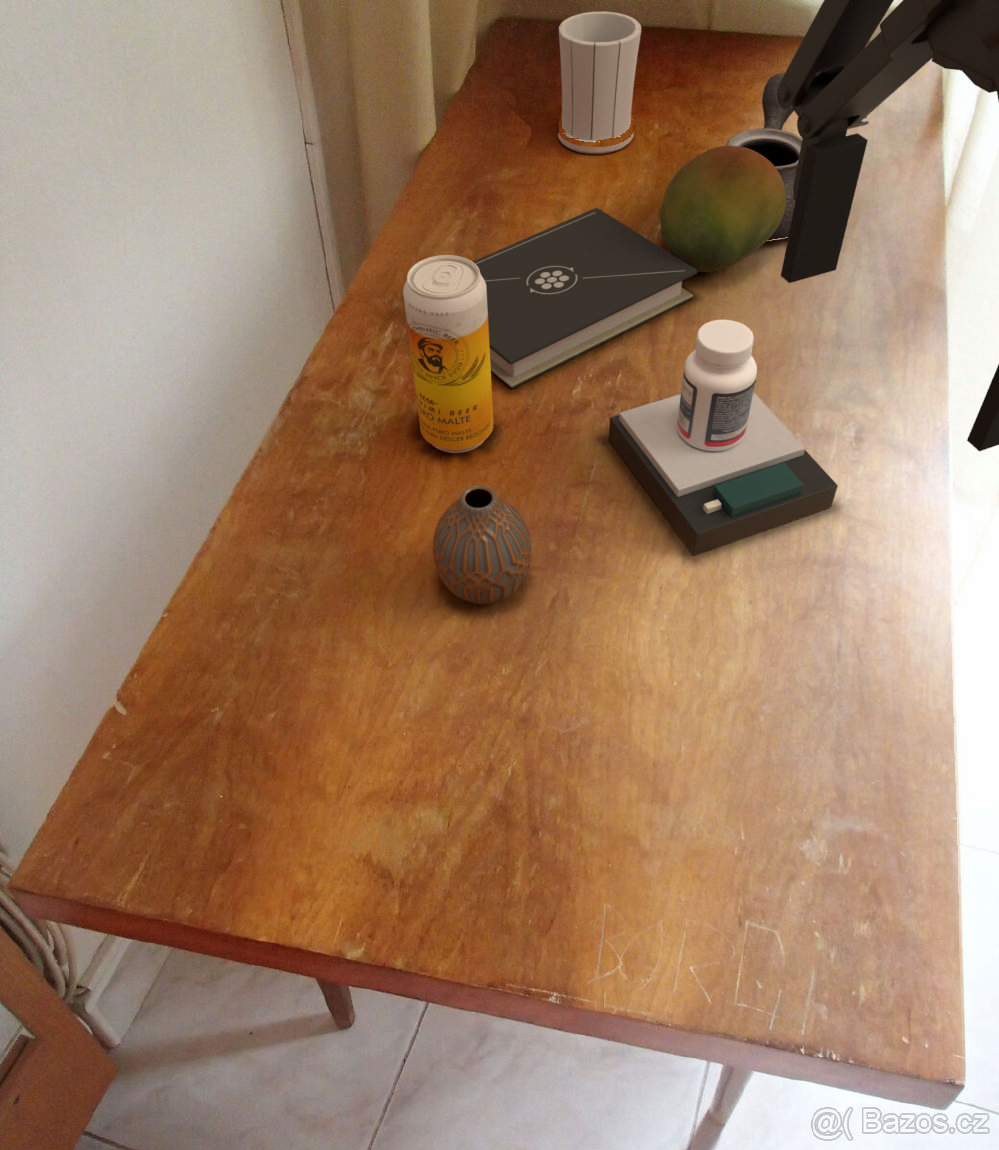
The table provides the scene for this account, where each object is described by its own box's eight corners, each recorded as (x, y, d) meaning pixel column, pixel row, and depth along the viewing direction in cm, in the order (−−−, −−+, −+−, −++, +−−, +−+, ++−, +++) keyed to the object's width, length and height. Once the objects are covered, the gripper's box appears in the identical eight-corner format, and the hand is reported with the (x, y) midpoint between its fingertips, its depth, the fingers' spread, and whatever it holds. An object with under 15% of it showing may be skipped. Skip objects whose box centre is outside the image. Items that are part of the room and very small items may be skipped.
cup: (537, 124, 117) (537, 16, 108) (605, 107, 120) (610, -1, 110) (579, 163, 111) (582, 51, 102) (649, 144, 113) (659, 33, 104)
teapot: (855, 253, 98) (881, 156, 90) (697, 250, 99) (709, 153, 91) (832, 159, 110) (853, 66, 102) (691, 157, 111) (702, 65, 103)
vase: (533, 618, 70) (532, 534, 63) (435, 620, 70) (424, 537, 63) (530, 545, 74) (529, 459, 67) (438, 547, 74) (428, 462, 68)
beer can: (410, 449, 81) (388, 292, 70) (436, 403, 85) (419, 246, 74) (479, 463, 80) (469, 305, 69) (503, 416, 84) (496, 258, 72)
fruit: (777, 229, 101) (796, 133, 93) (773, 300, 93) (794, 200, 85) (663, 220, 103) (673, 125, 95) (649, 288, 95) (659, 190, 87)
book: (594, 232, 102) (595, 205, 99) (694, 298, 94) (698, 270, 91) (418, 311, 94) (414, 284, 91) (511, 390, 86) (510, 362, 84)
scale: (831, 507, 76) (841, 475, 73) (693, 556, 73) (698, 524, 70) (734, 399, 84) (740, 367, 81) (608, 439, 81) (610, 407, 79)
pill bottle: (756, 423, 77) (776, 328, 70) (727, 462, 74) (745, 367, 68) (694, 400, 79) (708, 306, 72) (664, 437, 77) (676, 343, 70)
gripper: (745, -304, 36) (684, 236, 52) (1403, -145, 20) (1025, 557, 36) (917, -325, 37) (806, 204, 53) (1645, -193, 22) (1182, 498, 38)
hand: (894, 348), depth 45 cm, fingers open, 13 cm apart
